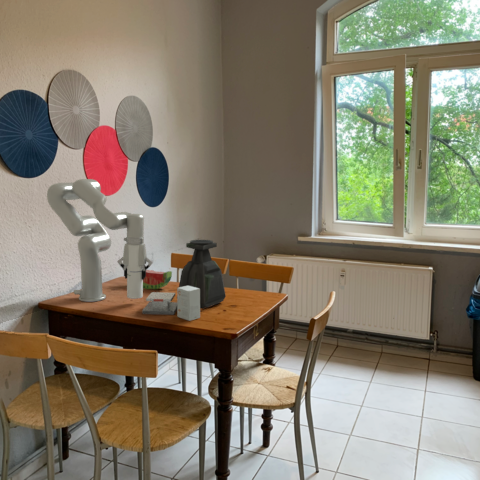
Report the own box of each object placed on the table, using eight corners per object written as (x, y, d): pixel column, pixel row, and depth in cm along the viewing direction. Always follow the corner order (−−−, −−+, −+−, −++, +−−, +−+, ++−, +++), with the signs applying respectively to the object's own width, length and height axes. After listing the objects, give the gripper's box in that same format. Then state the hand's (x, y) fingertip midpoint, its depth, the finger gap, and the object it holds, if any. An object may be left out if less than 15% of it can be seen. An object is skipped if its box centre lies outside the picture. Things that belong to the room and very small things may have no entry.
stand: (142, 313, 201) (141, 299, 200) (149, 304, 214) (149, 291, 214) (173, 314, 200) (173, 300, 199) (179, 305, 214) (179, 291, 213)
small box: (200, 317, 197) (200, 288, 195) (189, 321, 192) (189, 291, 190) (188, 313, 202) (188, 285, 200) (176, 316, 197) (176, 287, 195)
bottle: (226, 302, 219) (227, 241, 215) (205, 311, 206) (205, 245, 201) (198, 296, 229) (197, 237, 225) (175, 304, 216) (175, 241, 211)
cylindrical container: (138, 299, 210) (139, 245, 206) (124, 297, 212) (124, 244, 208) (145, 295, 217) (145, 243, 213) (131, 293, 219) (131, 242, 215)
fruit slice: (172, 289, 243) (172, 271, 241) (165, 292, 237) (165, 273, 236) (132, 283, 254) (132, 266, 252) (125, 286, 248) (124, 268, 246)
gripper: (113, 241, 207) (114, 279, 210) (152, 243, 206) (151, 281, 209) (118, 238, 214) (118, 275, 217) (155, 240, 214) (155, 277, 217)
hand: (134, 278), depth 213 cm, fingers closed on cylindrical container, 7 cm apart
